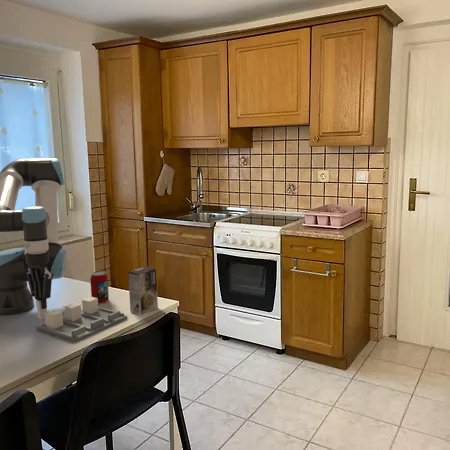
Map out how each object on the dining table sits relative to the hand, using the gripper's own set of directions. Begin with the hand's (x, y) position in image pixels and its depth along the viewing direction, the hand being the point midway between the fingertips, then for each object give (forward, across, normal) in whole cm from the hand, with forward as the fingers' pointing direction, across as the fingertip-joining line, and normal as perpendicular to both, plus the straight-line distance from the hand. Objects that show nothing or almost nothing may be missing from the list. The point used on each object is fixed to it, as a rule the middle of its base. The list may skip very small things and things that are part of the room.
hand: (42, 316), depth 159 cm
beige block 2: (+2, +6, +8) cm, 10 cm away
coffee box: (+4, +20, +30) cm, 36 cm away
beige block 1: (+2, +6, 0) cm, 6 cm away
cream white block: (+2, +6, +16) cm, 17 cm away
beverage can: (+3, -2, +28) cm, 28 cm away
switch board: (+3, +11, +8) cm, 14 cm away
